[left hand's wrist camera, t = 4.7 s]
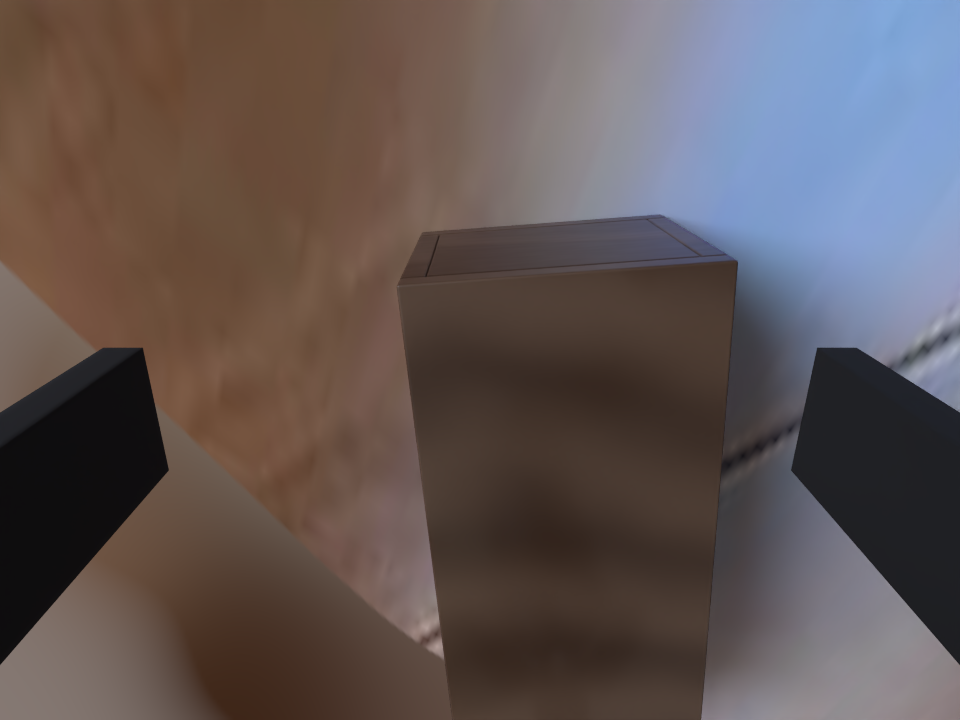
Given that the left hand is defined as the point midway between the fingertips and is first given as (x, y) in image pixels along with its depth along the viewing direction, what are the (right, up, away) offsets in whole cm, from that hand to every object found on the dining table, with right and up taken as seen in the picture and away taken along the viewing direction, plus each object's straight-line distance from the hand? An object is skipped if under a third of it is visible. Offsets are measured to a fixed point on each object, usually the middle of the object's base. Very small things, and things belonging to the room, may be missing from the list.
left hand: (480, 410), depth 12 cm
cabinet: (+3, -3, +18) cm, 18 cm away
